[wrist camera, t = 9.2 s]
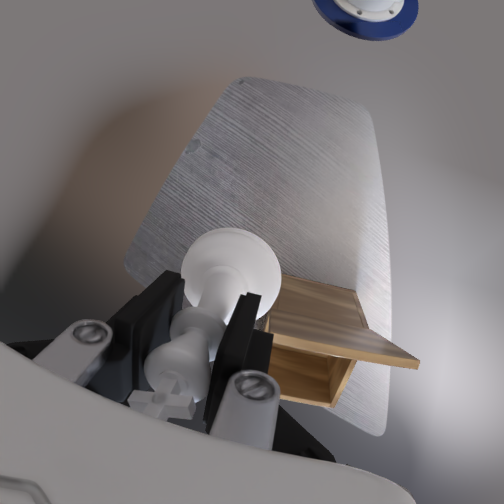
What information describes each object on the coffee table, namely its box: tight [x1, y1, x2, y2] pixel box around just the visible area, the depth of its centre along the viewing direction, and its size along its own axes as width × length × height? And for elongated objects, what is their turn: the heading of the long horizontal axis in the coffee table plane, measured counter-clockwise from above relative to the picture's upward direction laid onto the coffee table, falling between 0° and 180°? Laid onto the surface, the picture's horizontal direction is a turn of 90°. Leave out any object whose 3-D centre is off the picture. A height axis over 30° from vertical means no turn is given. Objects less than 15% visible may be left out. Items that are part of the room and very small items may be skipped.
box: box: [263, 273, 369, 408], centre depth 45 cm, size 14×13×12 cm
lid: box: [268, 308, 420, 369], centre depth 30 cm, size 14×13×1 cm
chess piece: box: [128, 228, 281, 421], centre depth 11 cm, size 5×5×10 cm
